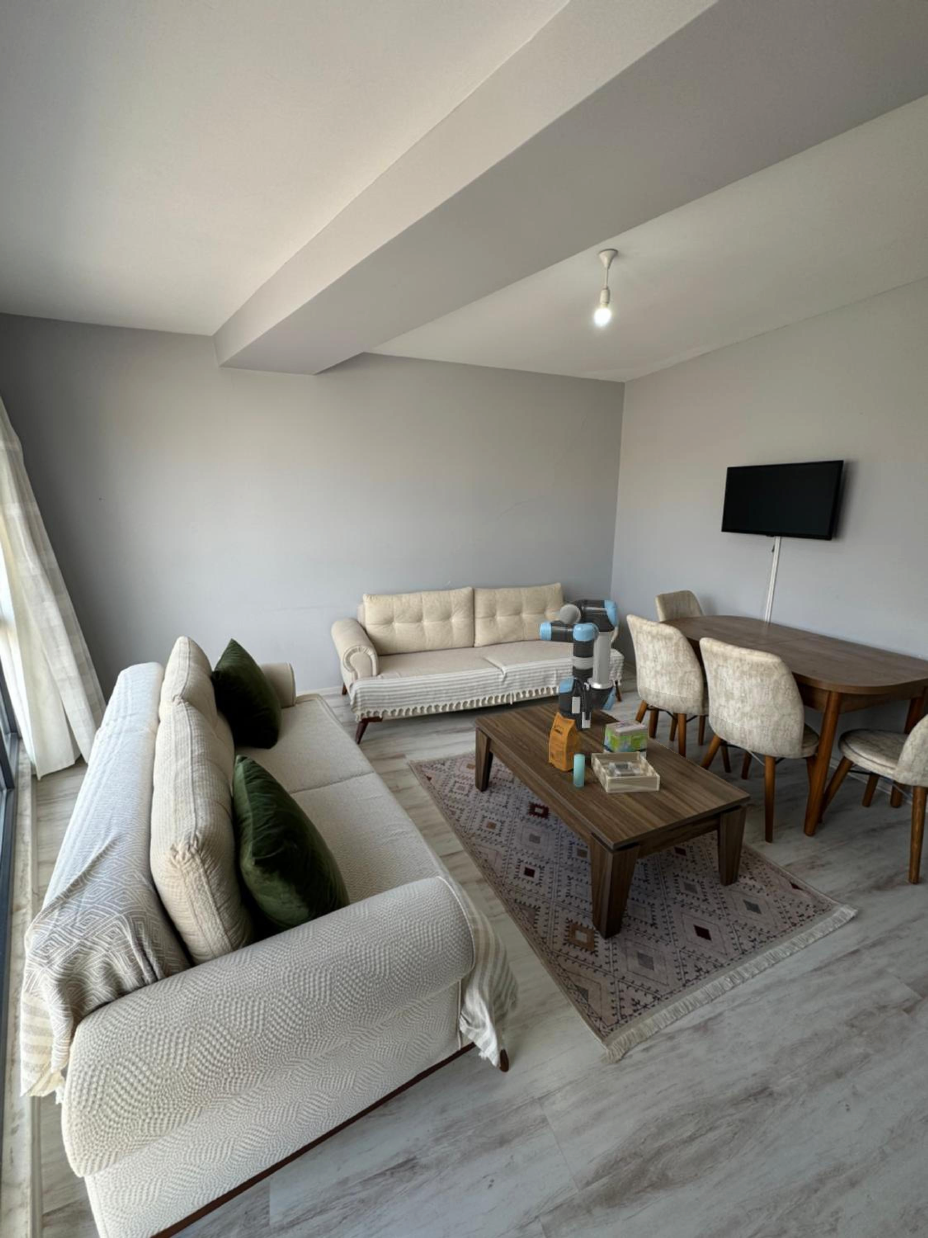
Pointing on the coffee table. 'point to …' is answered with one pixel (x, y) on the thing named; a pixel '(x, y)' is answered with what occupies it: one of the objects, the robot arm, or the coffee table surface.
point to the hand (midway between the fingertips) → (580, 720)
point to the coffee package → (563, 743)
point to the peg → (579, 770)
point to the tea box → (626, 737)
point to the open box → (624, 772)
